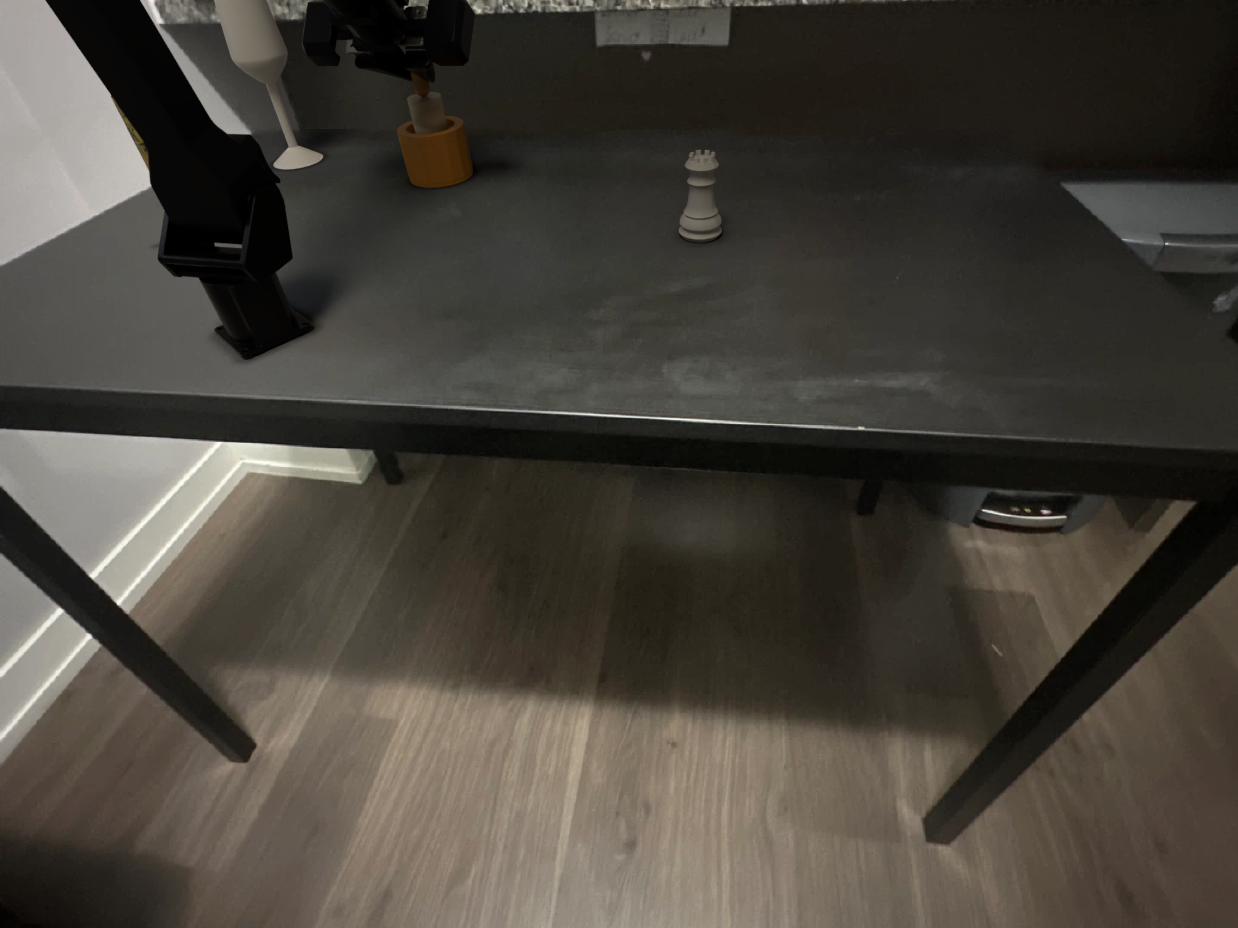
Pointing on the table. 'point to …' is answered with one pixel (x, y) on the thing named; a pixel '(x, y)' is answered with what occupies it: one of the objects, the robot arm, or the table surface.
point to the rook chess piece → (701, 200)
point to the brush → (426, 108)
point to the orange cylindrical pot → (436, 155)
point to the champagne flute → (262, 63)
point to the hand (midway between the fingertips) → (425, 78)
